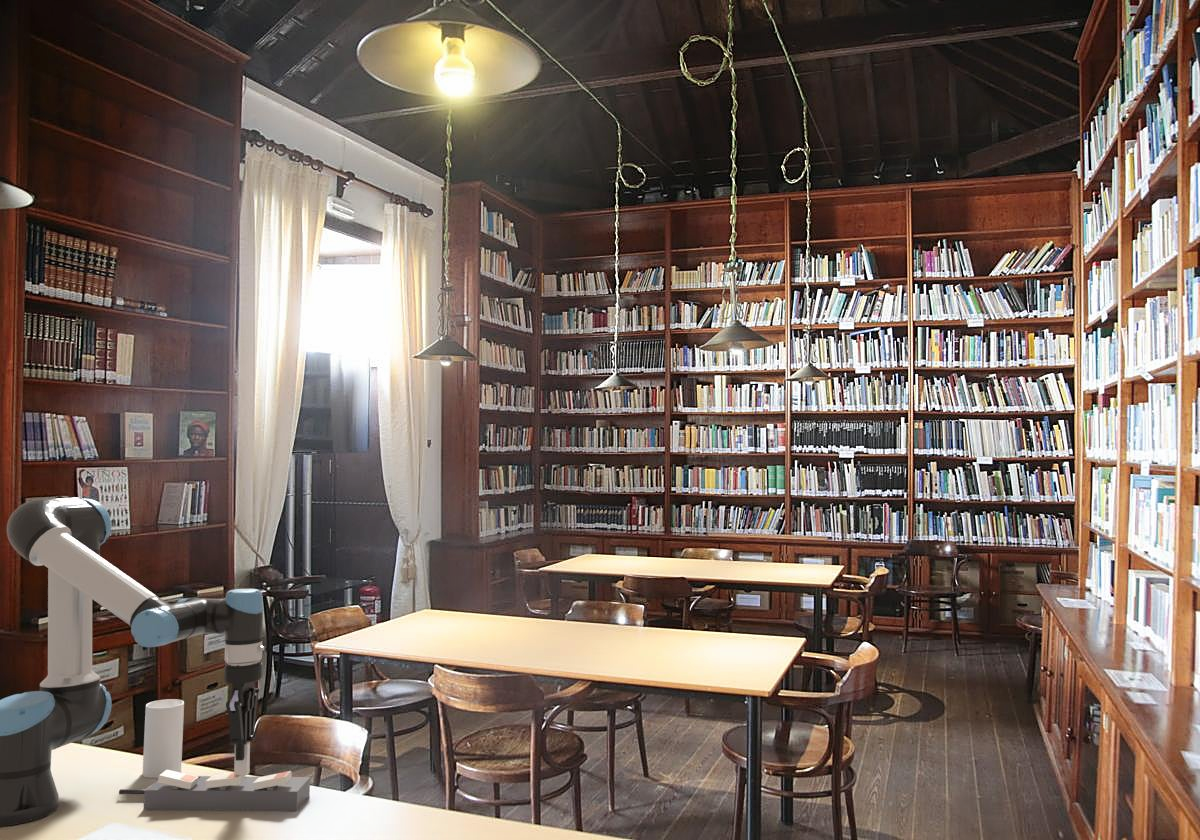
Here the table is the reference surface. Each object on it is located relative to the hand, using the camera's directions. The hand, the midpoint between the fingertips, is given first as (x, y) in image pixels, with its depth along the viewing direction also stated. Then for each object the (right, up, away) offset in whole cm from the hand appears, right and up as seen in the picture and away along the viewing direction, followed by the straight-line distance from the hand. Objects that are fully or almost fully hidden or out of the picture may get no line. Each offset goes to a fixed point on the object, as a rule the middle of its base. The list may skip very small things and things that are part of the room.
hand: (241, 773), depth 191 cm
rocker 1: (-13, -1, 0) cm, 13 cm away
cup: (-27, -8, +20) cm, 35 cm away
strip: (-8, -7, +2) cm, 10 cm away
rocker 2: (-3, -1, 0) cm, 4 cm away
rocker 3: (+7, -1, 0) cm, 7 cm away
